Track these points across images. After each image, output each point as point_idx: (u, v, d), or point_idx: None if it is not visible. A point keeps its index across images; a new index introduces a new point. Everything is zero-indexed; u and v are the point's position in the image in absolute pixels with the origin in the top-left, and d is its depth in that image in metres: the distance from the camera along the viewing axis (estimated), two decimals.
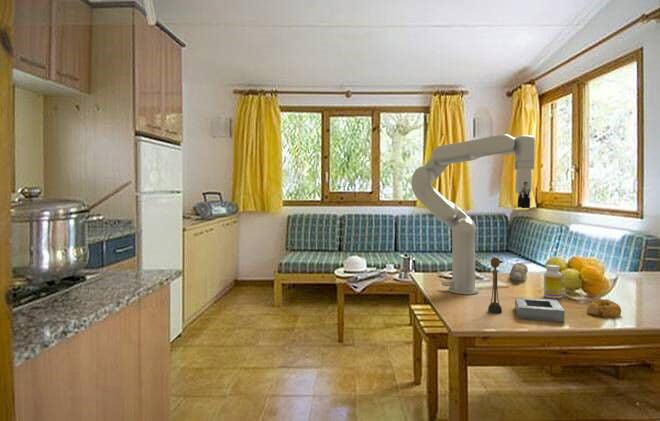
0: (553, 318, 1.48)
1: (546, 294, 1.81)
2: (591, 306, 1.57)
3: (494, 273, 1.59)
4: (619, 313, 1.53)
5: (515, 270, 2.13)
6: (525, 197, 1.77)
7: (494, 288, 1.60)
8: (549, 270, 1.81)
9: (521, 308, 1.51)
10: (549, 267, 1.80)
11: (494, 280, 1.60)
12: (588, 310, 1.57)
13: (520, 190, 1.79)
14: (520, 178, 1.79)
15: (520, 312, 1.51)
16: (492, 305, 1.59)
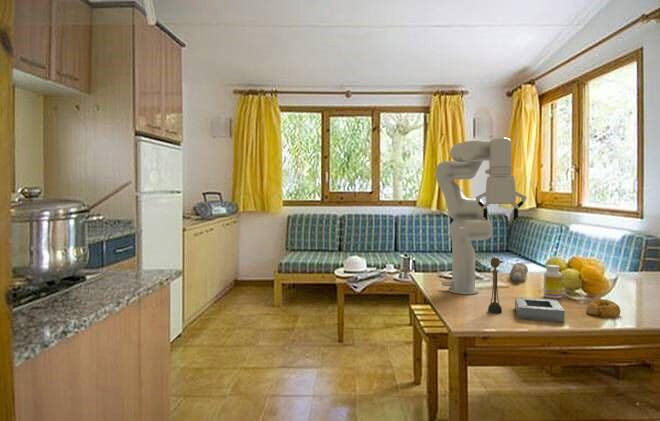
0: (553, 318, 1.48)
1: (546, 294, 1.81)
2: (590, 306, 1.57)
3: (494, 273, 1.59)
4: (618, 313, 1.53)
5: (515, 270, 2.13)
6: None
7: (494, 288, 1.60)
8: (549, 270, 1.81)
9: (521, 308, 1.51)
10: (549, 267, 1.80)
11: (494, 280, 1.60)
12: (587, 310, 1.57)
13: (515, 200, 1.58)
14: (514, 186, 1.57)
15: (520, 312, 1.51)
16: (492, 305, 1.59)
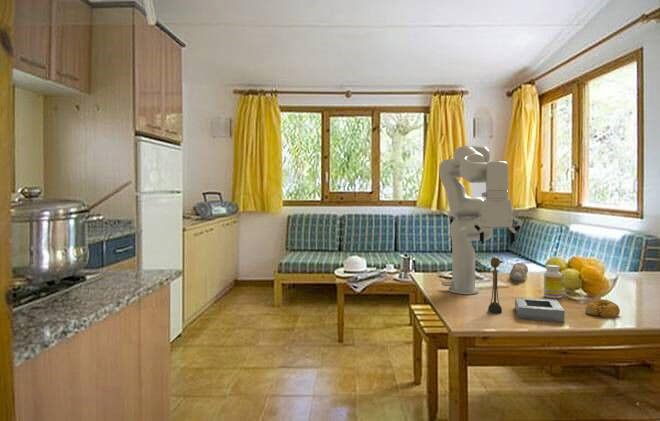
0: (553, 318, 1.48)
1: (546, 294, 1.81)
2: (590, 306, 1.57)
3: (494, 273, 1.59)
4: (618, 313, 1.53)
5: (515, 270, 2.13)
6: (515, 232, 1.57)
7: (494, 288, 1.60)
8: (549, 270, 1.81)
9: (521, 308, 1.51)
10: (549, 267, 1.80)
11: (494, 280, 1.60)
12: (587, 310, 1.57)
13: None
14: (511, 210, 1.55)
15: (520, 312, 1.51)
16: (492, 305, 1.59)
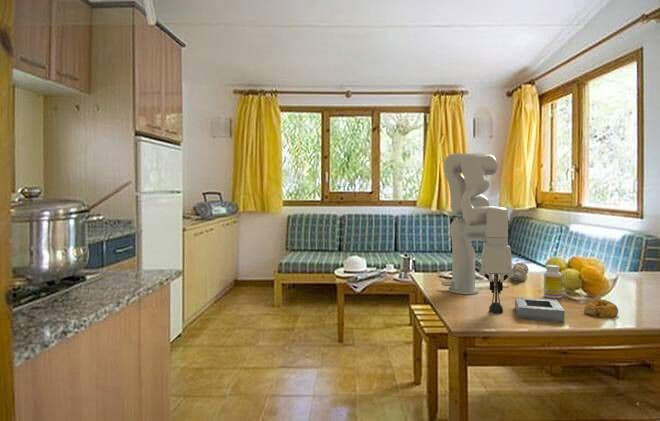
0: (553, 318, 1.48)
1: (546, 294, 1.81)
2: (588, 306, 1.57)
3: None
4: (616, 313, 1.53)
5: (515, 270, 2.13)
6: (503, 281, 1.59)
7: (495, 288, 1.60)
8: (549, 270, 1.81)
9: (521, 308, 1.51)
10: (549, 267, 1.80)
11: (495, 280, 1.60)
12: (585, 310, 1.57)
13: None
14: None
15: (520, 312, 1.51)
16: (493, 305, 1.59)
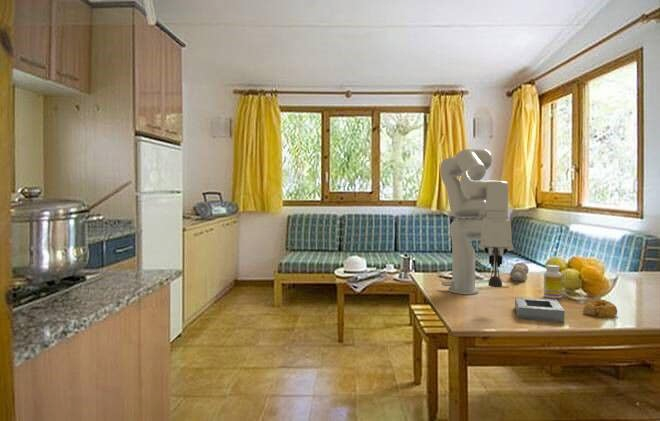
0: (553, 318, 1.48)
1: (546, 294, 1.81)
2: (587, 306, 1.57)
3: (495, 247, 1.59)
4: (615, 313, 1.53)
5: (515, 270, 2.13)
6: (503, 254, 1.59)
7: (495, 262, 1.60)
8: (549, 270, 1.81)
9: (521, 308, 1.51)
10: (549, 267, 1.80)
11: (495, 254, 1.60)
12: (584, 310, 1.57)
13: (511, 244, 1.57)
14: (510, 230, 1.56)
15: (520, 312, 1.51)
16: (492, 279, 1.60)
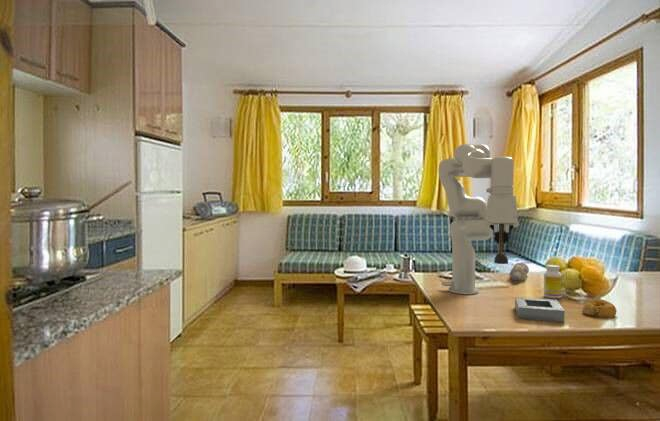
0: (553, 318, 1.48)
1: (546, 294, 1.81)
2: (586, 306, 1.57)
3: None
4: (614, 313, 1.53)
5: (515, 270, 2.14)
6: (508, 231, 1.58)
7: (500, 239, 1.58)
8: (549, 270, 1.81)
9: (521, 308, 1.51)
10: (549, 267, 1.80)
11: (500, 230, 1.58)
12: (583, 310, 1.57)
13: (516, 220, 1.55)
14: (516, 206, 1.55)
15: (520, 312, 1.51)
16: (498, 256, 1.58)
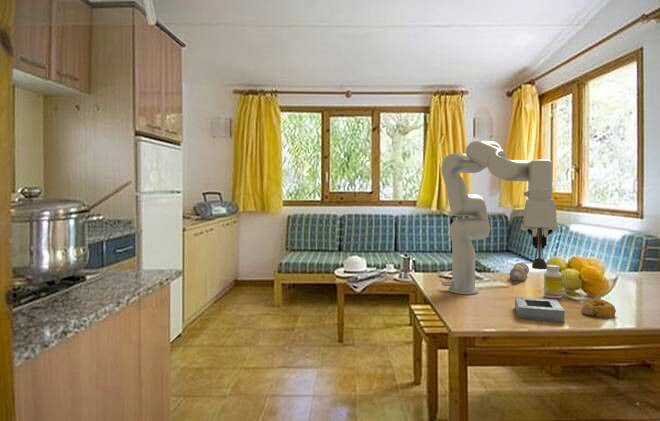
0: (553, 318, 1.48)
1: (546, 294, 1.81)
2: (586, 306, 1.57)
3: (539, 228, 1.54)
4: (614, 313, 1.53)
5: (515, 270, 2.14)
6: None
7: (539, 243, 1.54)
8: (549, 270, 1.81)
9: (521, 308, 1.51)
10: (549, 267, 1.80)
11: (539, 235, 1.54)
12: (583, 310, 1.57)
13: (556, 224, 1.51)
14: (555, 210, 1.51)
15: (520, 312, 1.51)
16: (537, 261, 1.54)
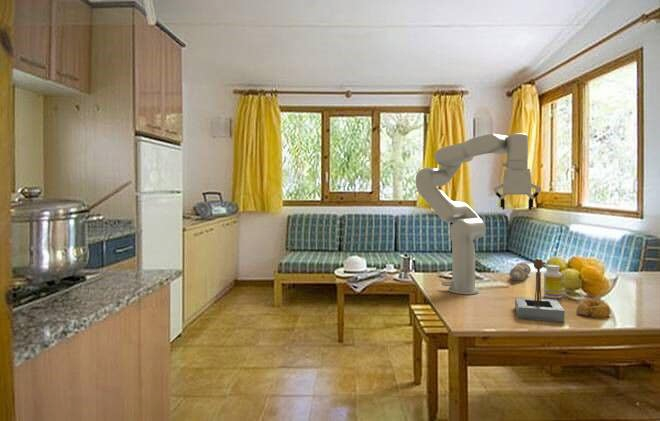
0: (553, 318, 1.48)
1: (546, 294, 1.81)
2: (580, 306, 1.56)
3: (537, 275, 1.55)
4: (608, 313, 1.53)
5: (514, 270, 2.14)
6: (533, 198, 1.71)
7: (537, 290, 1.55)
8: (549, 270, 1.81)
9: (521, 308, 1.51)
10: (549, 267, 1.80)
11: (537, 282, 1.55)
12: (578, 311, 1.56)
13: None
14: (530, 178, 1.70)
15: (520, 312, 1.51)
16: None
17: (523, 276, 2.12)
